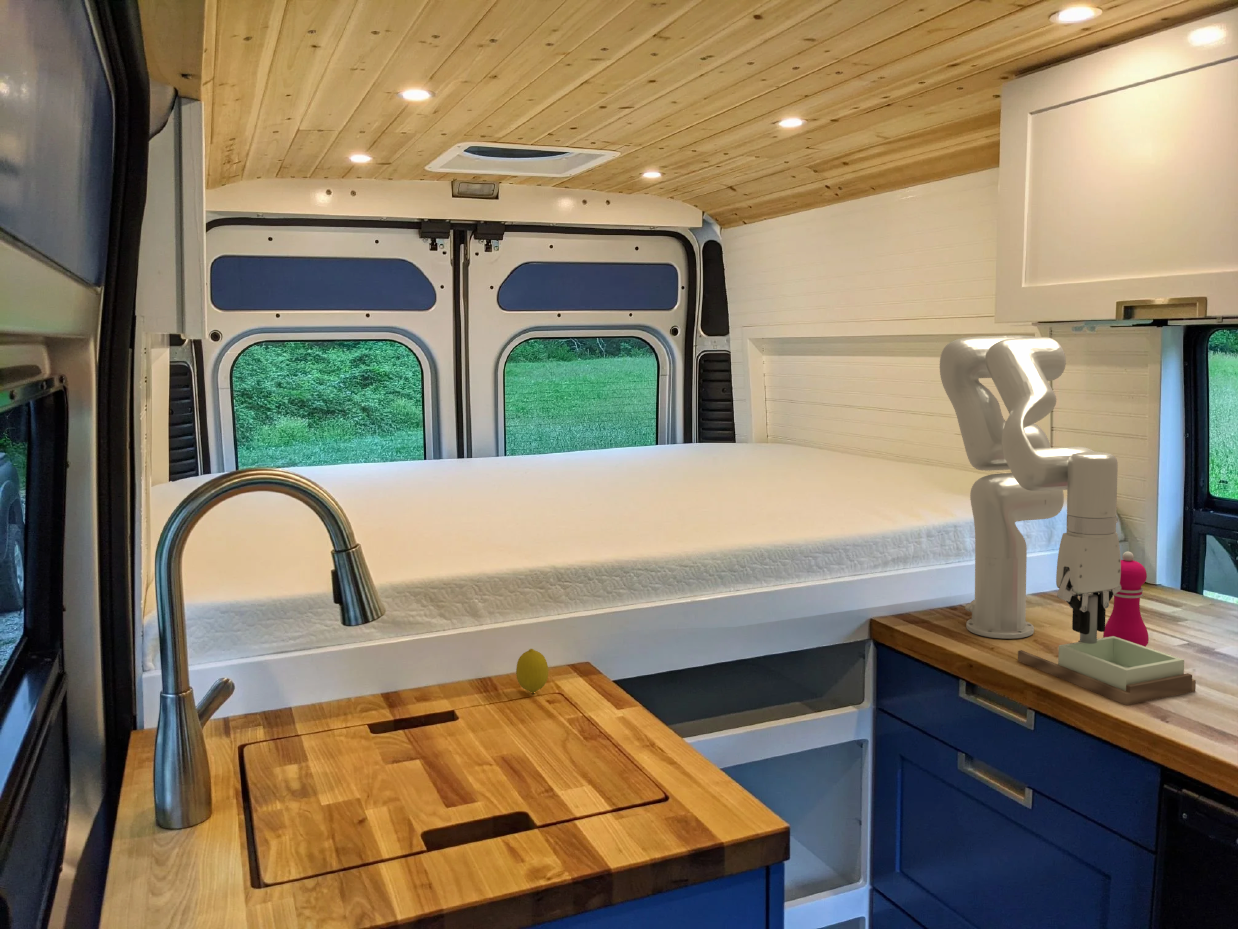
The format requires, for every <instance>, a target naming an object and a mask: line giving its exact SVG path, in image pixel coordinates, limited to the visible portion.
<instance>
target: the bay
mask: <svg viewBox="0 0 1238 929" xmlns="http://www.w3.org/2000/svg"><path fill="white" fill-rule="evenodd" d="M1077 642H1081V641H1080V639H1079V640H1078V641H1077ZM1017 661H1018V662H1020V663H1023V664H1024V665H1027V666H1029V667H1032V668H1034V669H1037V670H1039V671H1042V672H1044V673H1046V674H1048V675H1051V676H1054V677H1057V678H1058V679H1061V680H1064V681H1066V682H1069V683H1071V684H1074V685H1076V686H1078V687H1081V688H1084V689H1085V690H1088V691H1091V692H1093V693H1095V694H1098V695H1100V696H1103V697H1105V698H1107V699H1110V700H1112V701H1115V702H1117V703H1120V704H1121V705H1125V706H1129V705H1132V704H1138V703H1143V702H1149V701H1154V700H1159V699H1164V698H1168V697H1174V696H1178V695H1183V694H1188V693H1194V692H1196V688H1197V684H1196V682H1197V680H1196V679H1194V678H1193V674H1191V673H1184V674H1182V675H1176V676H1171V677H1166V678H1161V679H1156V680H1150V681H1145V682H1140V683H1135V684H1129V685H1126V691H1124V690H1122V689H1119V688H1116V687H1114V686H1111V685H1109V684H1106V683H1104V682H1101V681H1099V680H1096V679H1094V678H1091V677H1088V676H1086V675H1083V674H1081V673H1078V672H1076V671H1073V670H1071V669H1068V668H1066V667H1063V666H1061V665H1058V663H1056V662H1052V661H1050V660H1049V659H1045V658H1043V657H1040V656H1038V655H1034V654H1032V653H1029V652H1027V651H1024V650H1021V649H1020V650H1017Z"/></svg>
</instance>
